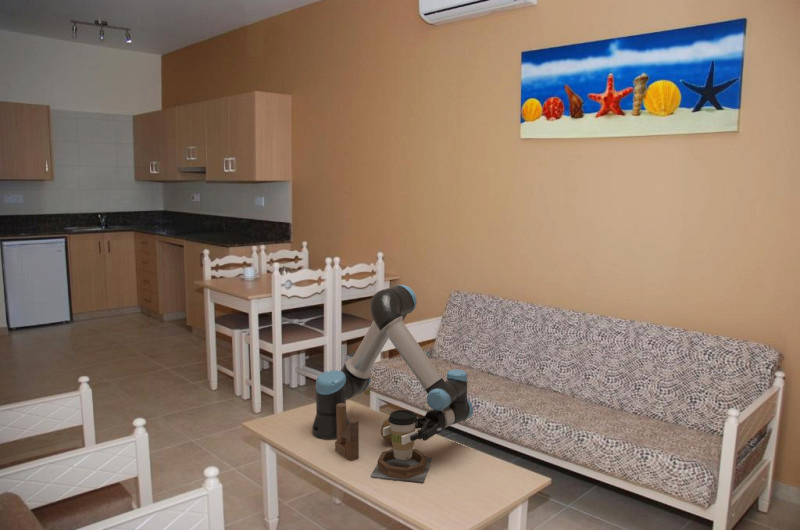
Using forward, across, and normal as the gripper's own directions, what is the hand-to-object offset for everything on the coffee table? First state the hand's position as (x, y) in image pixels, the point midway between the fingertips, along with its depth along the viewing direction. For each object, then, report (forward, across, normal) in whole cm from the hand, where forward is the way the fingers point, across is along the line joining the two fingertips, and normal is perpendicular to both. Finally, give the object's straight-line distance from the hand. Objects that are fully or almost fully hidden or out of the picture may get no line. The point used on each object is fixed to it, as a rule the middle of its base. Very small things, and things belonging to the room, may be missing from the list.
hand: (392, 436), depth 205 cm
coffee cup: (-5, 0, -9) cm, 10 cm away
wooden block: (+3, +22, -13) cm, 26 cm away
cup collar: (-5, 0, -13) cm, 14 cm away
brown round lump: (-16, +18, -13) cm, 27 cm away
